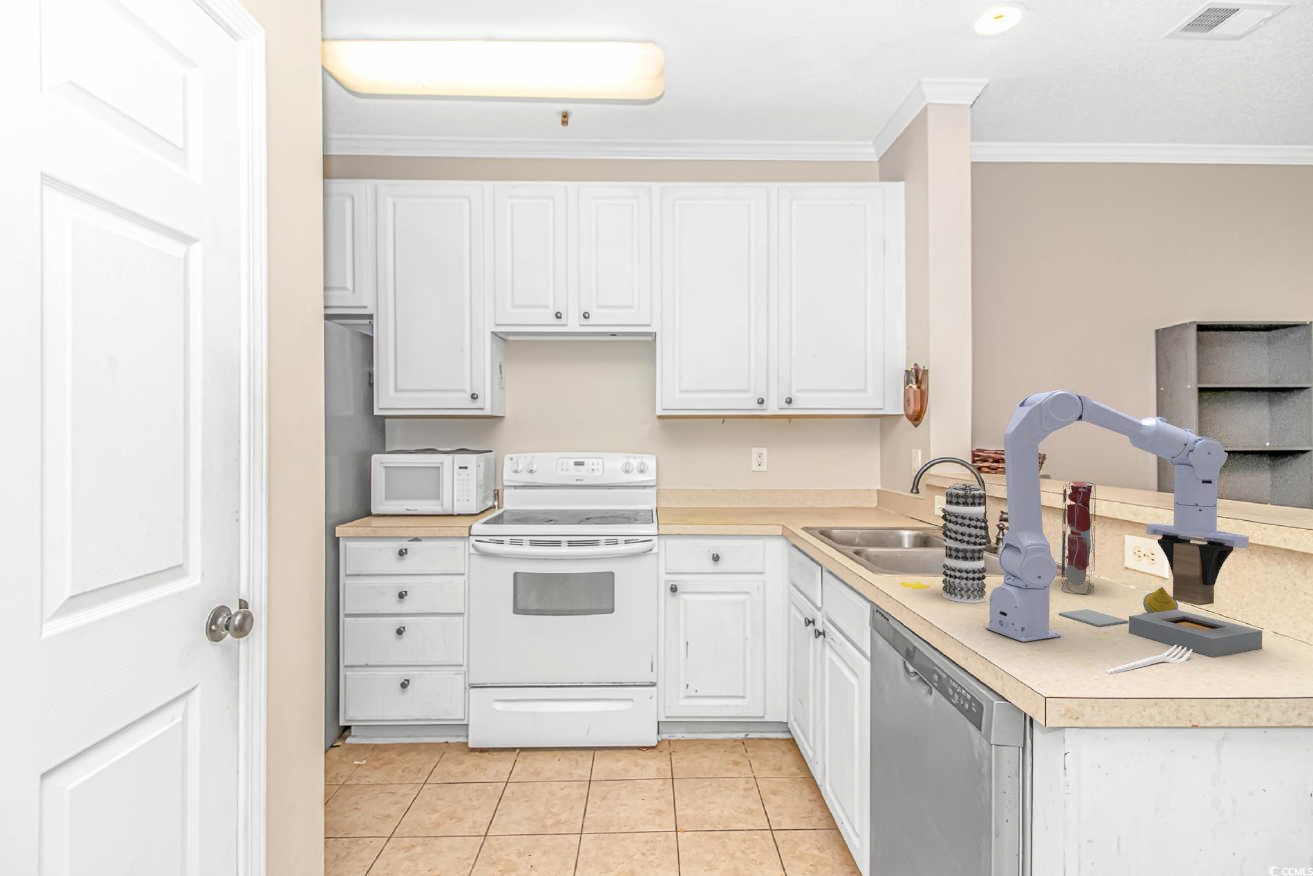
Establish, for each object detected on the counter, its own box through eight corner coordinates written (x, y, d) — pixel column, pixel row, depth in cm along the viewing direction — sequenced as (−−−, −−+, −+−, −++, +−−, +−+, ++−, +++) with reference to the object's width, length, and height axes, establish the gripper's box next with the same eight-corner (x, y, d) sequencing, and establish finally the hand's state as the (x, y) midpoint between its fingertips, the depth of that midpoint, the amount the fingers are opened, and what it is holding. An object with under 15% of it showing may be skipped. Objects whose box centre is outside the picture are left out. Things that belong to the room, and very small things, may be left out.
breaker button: (1201, 639, 106) (1201, 634, 105) (1164, 629, 111) (1164, 625, 111) (1222, 636, 107) (1222, 631, 107) (1185, 626, 113) (1185, 622, 113)
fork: (1095, 672, 95) (1096, 660, 95) (1172, 654, 103) (1172, 643, 103) (1118, 680, 92) (1118, 668, 92) (1195, 661, 100) (1196, 650, 100)
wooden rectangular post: (1198, 605, 106) (1199, 547, 106) (1172, 599, 110) (1173, 543, 110) (1213, 603, 108) (1214, 546, 108) (1187, 597, 112) (1188, 542, 111)
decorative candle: (938, 590, 142) (939, 481, 142) (983, 594, 139) (985, 483, 139) (942, 601, 133) (943, 485, 133) (990, 605, 130) (992, 486, 130)
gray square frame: (1212, 657, 101) (1212, 638, 101) (1128, 632, 113) (1128, 616, 113) (1262, 648, 105) (1262, 630, 105) (1176, 625, 117) (1176, 609, 117)
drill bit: (1184, 619, 122) (1187, 593, 117) (1155, 629, 123) (1157, 603, 118) (1163, 598, 127) (1165, 571, 121) (1136, 607, 128) (1137, 581, 122)
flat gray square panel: (1098, 627, 116) (1098, 624, 116) (1058, 614, 124) (1058, 612, 124) (1128, 622, 119) (1128, 620, 119) (1087, 611, 126) (1087, 609, 126)
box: (1093, 605, 131) (1095, 490, 130) (1059, 600, 134) (1060, 488, 134) (1094, 582, 151) (1096, 482, 151) (1064, 578, 154) (1065, 480, 154)
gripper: (1260, 508, 103) (1259, 590, 103) (1164, 499, 117) (1163, 571, 117) (1233, 510, 101) (1232, 593, 101) (1139, 500, 115) (1138, 573, 115)
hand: (1193, 581), depth 109 cm, fingers closed on wooden rectangular post, 4 cm apart
